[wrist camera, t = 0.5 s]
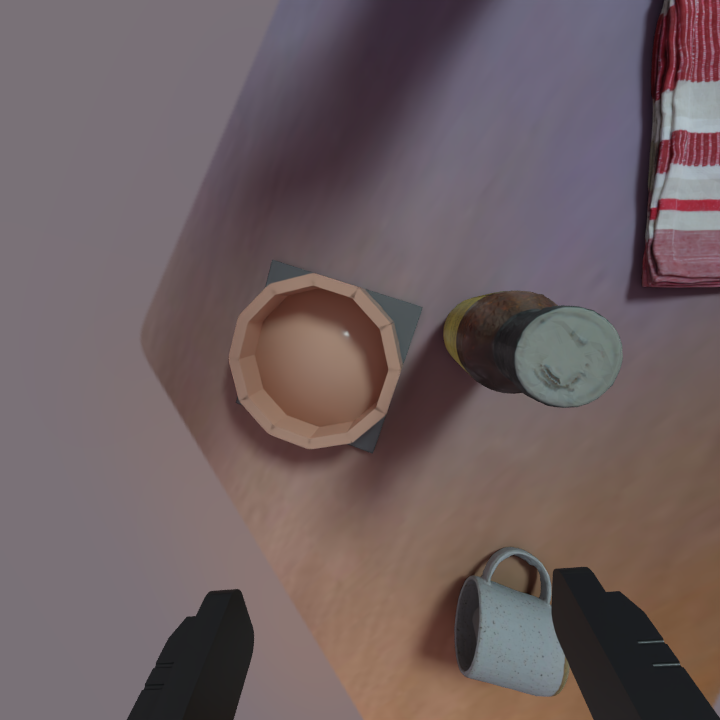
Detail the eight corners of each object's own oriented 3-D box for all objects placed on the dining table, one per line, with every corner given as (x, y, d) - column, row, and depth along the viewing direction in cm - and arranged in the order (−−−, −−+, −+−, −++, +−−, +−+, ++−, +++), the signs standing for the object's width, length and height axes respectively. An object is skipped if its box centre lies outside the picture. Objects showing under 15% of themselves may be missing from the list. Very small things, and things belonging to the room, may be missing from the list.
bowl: (272, 259, 35) (253, 253, 31) (422, 307, 33) (422, 307, 30) (235, 402, 38) (214, 413, 34) (372, 453, 36) (366, 471, 32)
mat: (274, 260, 36) (272, 259, 35) (422, 307, 34) (422, 307, 33) (238, 401, 39) (235, 402, 38) (373, 451, 37) (372, 453, 36)
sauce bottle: (452, 372, 34) (491, 458, 15) (433, 309, 34) (448, 312, 14) (524, 353, 33) (668, 419, 14) (506, 286, 33) (628, 256, 13)
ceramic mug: (531, 648, 37) (559, 733, 30) (450, 621, 38) (457, 697, 31) (562, 555, 35) (600, 621, 28) (477, 530, 36) (491, 587, 29)
